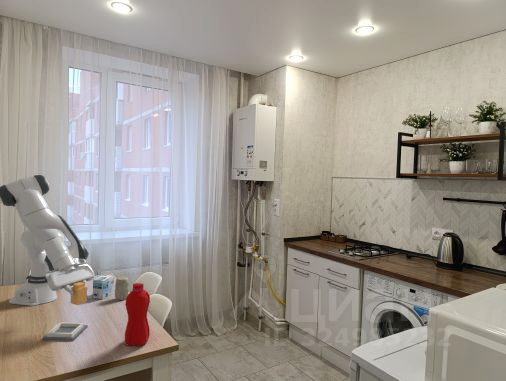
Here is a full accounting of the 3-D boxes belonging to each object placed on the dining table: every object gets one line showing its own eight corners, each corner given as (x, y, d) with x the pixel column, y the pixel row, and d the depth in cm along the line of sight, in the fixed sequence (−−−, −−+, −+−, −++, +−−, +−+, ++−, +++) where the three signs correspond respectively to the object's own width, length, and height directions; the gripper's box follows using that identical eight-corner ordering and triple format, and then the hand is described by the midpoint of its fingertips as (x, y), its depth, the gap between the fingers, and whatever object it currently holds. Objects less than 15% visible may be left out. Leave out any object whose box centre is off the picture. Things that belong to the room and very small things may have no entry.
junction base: (42, 340, 144) (42, 334, 144) (59, 326, 157) (59, 321, 157) (73, 340, 144) (73, 335, 144) (87, 327, 157) (87, 321, 157)
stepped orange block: (70, 303, 153) (70, 284, 153) (80, 300, 157) (80, 281, 157) (77, 305, 151) (77, 286, 151) (86, 302, 155) (87, 283, 155)
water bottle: (152, 334, 152) (153, 279, 151) (144, 347, 141) (146, 287, 140) (131, 334, 152) (132, 278, 151) (122, 346, 141) (123, 286, 140)
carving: (130, 299, 194) (131, 278, 194) (117, 302, 189) (117, 280, 189) (126, 295, 199) (126, 275, 198) (113, 298, 194) (113, 277, 193)
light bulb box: (102, 299, 192) (103, 280, 191) (92, 298, 193) (92, 279, 193) (114, 293, 202) (114, 275, 202) (104, 292, 204) (104, 274, 203)
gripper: (46, 268, 147) (60, 294, 143) (88, 258, 165) (102, 282, 161) (40, 276, 149) (54, 303, 145) (82, 266, 168) (95, 289, 164)
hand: (79, 292), depth 153 cm, fingers closed on stepped orange block, 5 cm apart
